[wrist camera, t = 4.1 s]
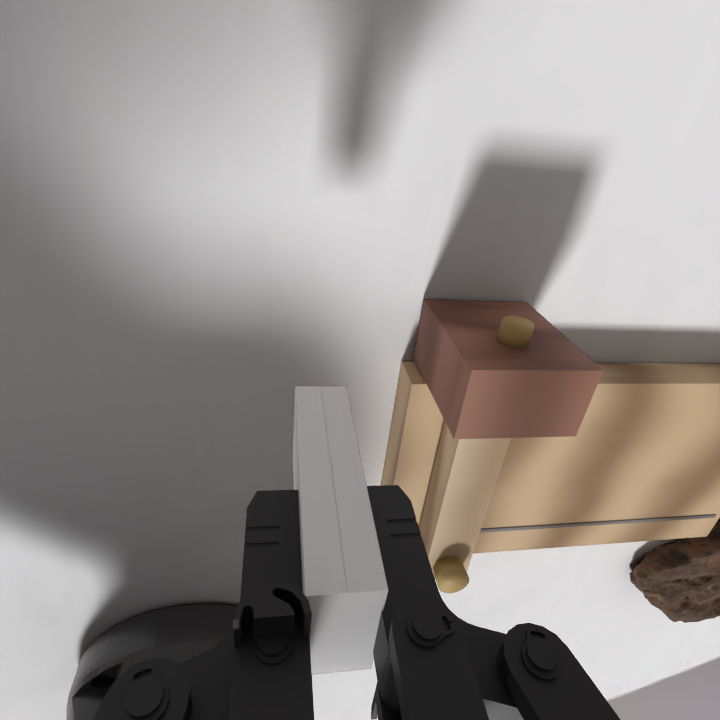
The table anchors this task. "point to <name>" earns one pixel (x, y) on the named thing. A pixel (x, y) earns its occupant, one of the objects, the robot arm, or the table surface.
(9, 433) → the table surface
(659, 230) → the table surface
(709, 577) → the rock
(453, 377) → the block
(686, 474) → the board
